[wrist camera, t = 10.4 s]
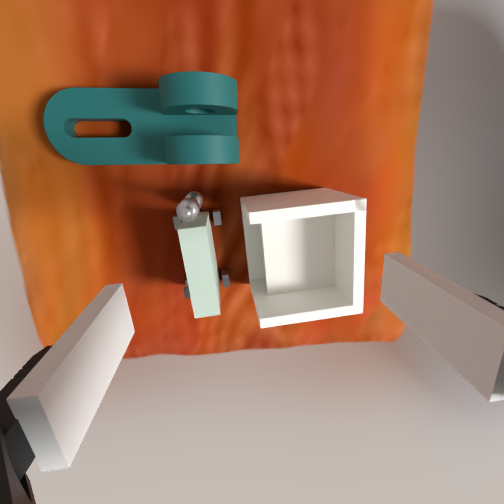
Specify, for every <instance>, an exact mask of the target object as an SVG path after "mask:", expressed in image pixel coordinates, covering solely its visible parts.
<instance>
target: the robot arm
mask: <svg viewBox="0 0 504 504" xmlns="http://www.w3.org/2000/svg"><path fill="white" fill-rule="evenodd" d="M381 302H382V303H383V304H384V305H385V306H386V307H387V308H389V309H390V310H391V311H392V312H393V313H394V314H395V315H396V316H397V317H398V318H399V319H400V320H402V321H403V322H404V323H405V324H406V325H407V326H408V327H409V328H410V329H411V330H412V331H414V332H415V333H416V334H417V335H418V336H419V337H420V338H421V339H422V340H423V341H424V342H425V343H427V344H428V345H429V346H430V347H431V348H432V349H433V350H434V351H435V352H436V353H437V354H438V355H439V356H441V357H442V358H443V359H444V360H445V361H446V362H447V363H448V364H449V365H450V366H451V367H452V368H453V369H455V370H456V371H457V372H458V373H459V374H460V375H461V376H462V377H463V378H464V379H465V380H466V381H467V382H469V383H470V384H471V385H472V386H473V387H474V388H475V389H476V390H477V391H478V392H479V393H480V394H482V395H483V396H484V397H485V398H486V399H487V400H488V401H489V402H492V401H498V400H504V307H502V306H499V305H498V304H497V303H495V302H493V301H491V300H490V299H488V298H486V297H483V296H480V295H477V294H474V293H472V292H470V291H468V290H466V289H464V288H463V287H461V286H459V285H457V284H455V283H454V282H452V281H450V280H448V279H446V278H445V277H443V276H441V275H439V274H437V273H435V272H434V271H432V270H430V269H428V268H426V267H425V266H423V265H421V264H419V263H418V262H416V261H414V260H412V259H410V258H409V257H407V256H405V255H403V254H401V253H400V252H396V253H387V254H385V256H384V267H383V279H382V290H381ZM134 332H135V331H134V327H133V323H132V319H131V315H130V312H129V308H128V304H127V300H126V296H125V292H124V288H123V284H122V283H120V284H111V285H105V287H104V288H103V289H102V290H101V291H100V292H99V293H98V295H97V296H96V297H95V298H94V299H93V300H92V301H91V303H90V304H89V305H88V306H87V307H86V308H85V309H84V311H83V312H82V313H81V314H80V315H79V316H78V317H77V319H76V320H75V321H74V322H73V323H72V324H71V325H70V327H69V328H68V329H67V330H66V331H65V332H64V334H63V335H62V336H61V337H60V338H59V339H58V340H57V342H56V343H55V344H54V345H52V346H47V347H45V348H44V349H42V350H41V351H39V352H38V353H37V354H35V355H34V356H33V357H32V358H31V359H30V360H29V361H28V362H27V363H26V364H25V365H24V366H23V367H22V369H21V370H19V372H18V373H17V374H16V375H15V376H14V379H11V380H10V381H9V382H8V383H7V384H6V386H5V387H4V388H3V389H2V390H1V391H0V504H36V503H35V499H34V495H33V491H32V488H31V484H30V480H29V478H28V476H27V474H26V471H27V470H28V468H29V466H30V465H31V463H32V462H33V460H34V458H35V460H36V462H37V464H38V466H39V468H40V470H41V472H45V471H52V470H58V469H64V468H69V467H70V465H71V463H72V461H73V459H74V457H75V454H76V452H77V450H78V448H79V446H80V444H81V442H82V440H83V438H84V436H85V434H86V432H87V430H88V428H89V426H90V423H91V421H92V419H93V417H94V415H95V413H96V411H97V409H98V407H99V405H100V403H101V401H102V398H103V397H104V394H105V392H106V390H107V388H108V386H109V384H110V382H111V380H112V378H113V376H114V374H115V372H116V369H117V367H118V365H119V363H120V361H121V359H122V357H123V355H124V353H125V351H126V349H127V347H128V345H129V343H130V341H131V338H132V336H133V334H134Z"/></svg>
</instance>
